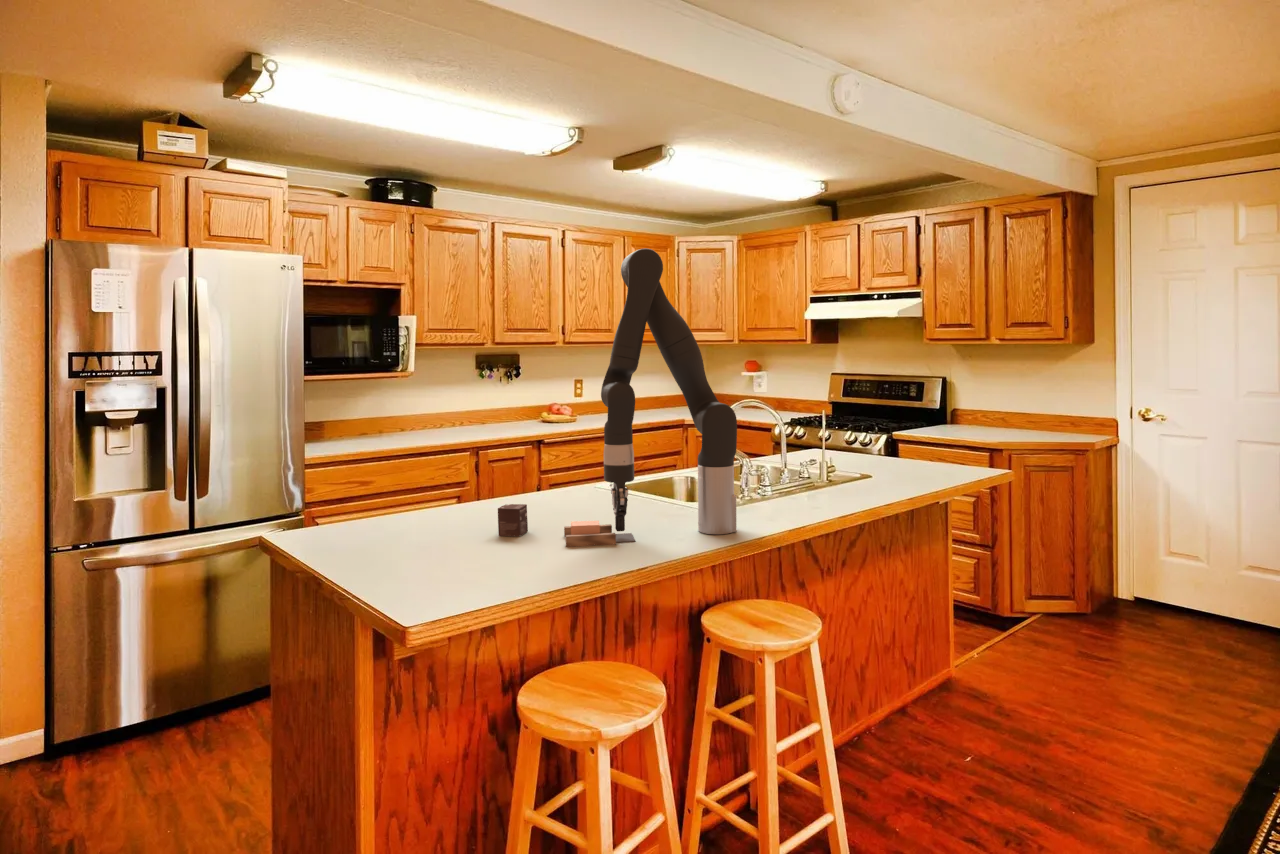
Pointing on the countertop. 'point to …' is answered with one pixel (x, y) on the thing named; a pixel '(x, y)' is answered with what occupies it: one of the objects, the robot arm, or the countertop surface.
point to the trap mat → (624, 538)
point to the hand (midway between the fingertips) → (620, 530)
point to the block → (585, 527)
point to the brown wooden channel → (590, 537)
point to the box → (512, 520)
